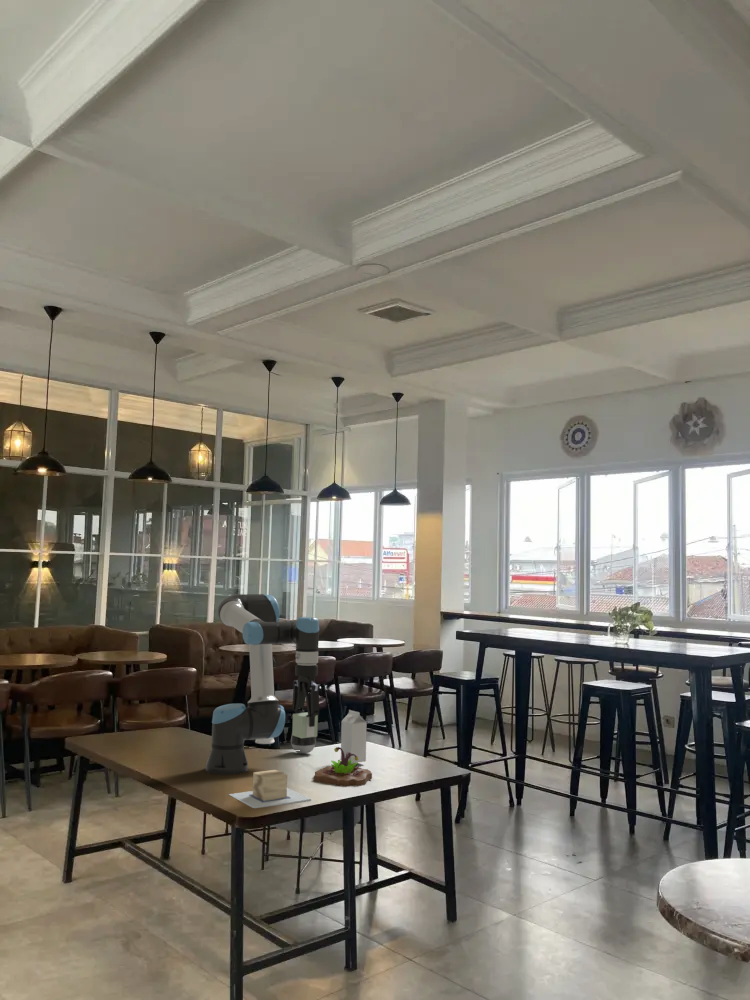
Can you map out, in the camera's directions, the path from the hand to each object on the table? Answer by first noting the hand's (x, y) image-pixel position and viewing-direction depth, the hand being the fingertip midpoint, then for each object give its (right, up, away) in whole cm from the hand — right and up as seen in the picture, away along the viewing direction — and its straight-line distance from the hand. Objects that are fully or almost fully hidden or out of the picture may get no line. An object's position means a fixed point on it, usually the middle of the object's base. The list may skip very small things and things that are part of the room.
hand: (304, 734), depth 268 cm
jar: (-24, -26, +79) cm, 86 cm away
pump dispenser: (-6, -25, +61) cm, 66 cm away
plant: (+12, -22, +19) cm, 31 cm away
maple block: (-10, -17, -10) cm, 22 cm away
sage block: (0, 0, 0) cm, 0 cm away
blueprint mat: (-10, -18, -11) cm, 23 cm away
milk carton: (+15, -24, +46) cm, 54 cm away
